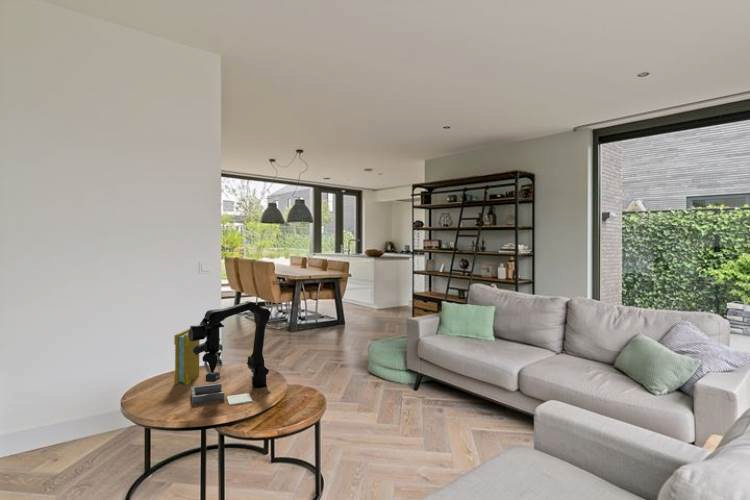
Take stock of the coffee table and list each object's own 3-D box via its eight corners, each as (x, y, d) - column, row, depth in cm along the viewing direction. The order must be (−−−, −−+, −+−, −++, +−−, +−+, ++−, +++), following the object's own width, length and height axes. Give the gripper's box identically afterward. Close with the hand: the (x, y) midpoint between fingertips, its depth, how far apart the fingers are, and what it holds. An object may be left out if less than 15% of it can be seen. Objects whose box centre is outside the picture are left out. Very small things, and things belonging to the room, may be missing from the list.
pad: (248, 394, 195) (248, 393, 195) (252, 401, 186) (252, 400, 186) (226, 397, 191) (226, 396, 191) (229, 405, 182) (229, 404, 182)
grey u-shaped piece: (221, 390, 200) (221, 383, 200) (224, 400, 188) (224, 392, 188) (191, 394, 194) (191, 387, 194) (192, 404, 182) (192, 397, 182)
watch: (219, 382, 187) (219, 358, 187) (201, 381, 188) (202, 357, 188) (223, 378, 193) (224, 355, 193) (207, 378, 193) (207, 354, 193)
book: (187, 384, 207) (187, 335, 206) (174, 384, 207) (174, 335, 206) (201, 373, 224) (202, 328, 223) (189, 373, 224) (190, 327, 223)
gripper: (198, 333, 197) (198, 365, 197) (190, 343, 179) (190, 378, 179) (222, 332, 199) (222, 364, 200) (217, 342, 181) (217, 377, 182)
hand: (213, 370), depth 190 cm, fingers closed on watch, 5 cm apart
